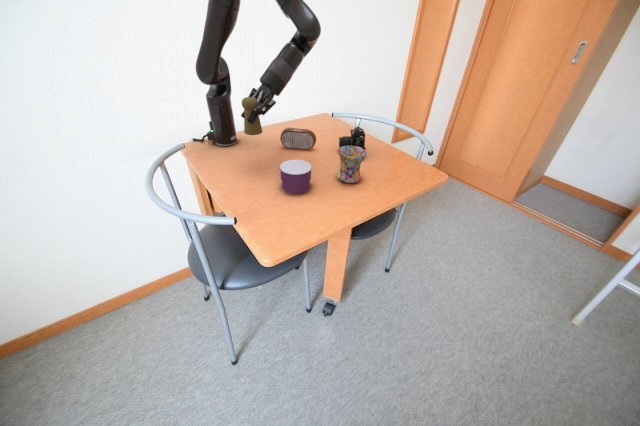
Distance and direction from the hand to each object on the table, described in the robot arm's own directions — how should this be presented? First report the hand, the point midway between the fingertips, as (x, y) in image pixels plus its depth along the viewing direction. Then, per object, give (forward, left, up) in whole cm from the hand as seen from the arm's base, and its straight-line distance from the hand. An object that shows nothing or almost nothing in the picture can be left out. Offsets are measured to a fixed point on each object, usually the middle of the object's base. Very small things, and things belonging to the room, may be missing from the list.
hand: (246, 119), depth 88 cm
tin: (+13, +22, -19) cm, 32 cm away
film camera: (+36, +23, -19) cm, 47 cm away
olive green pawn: (+1, +1, -5) cm, 5 cm away
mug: (+35, +1, -19) cm, 40 cm away
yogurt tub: (+18, -9, -18) cm, 27 cm away
